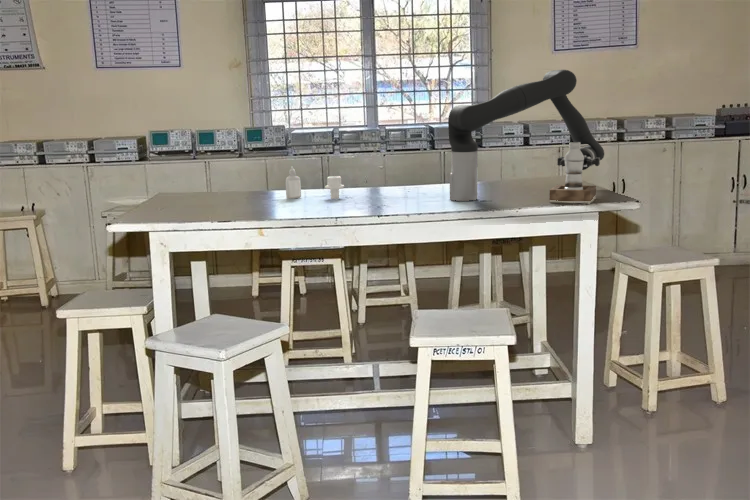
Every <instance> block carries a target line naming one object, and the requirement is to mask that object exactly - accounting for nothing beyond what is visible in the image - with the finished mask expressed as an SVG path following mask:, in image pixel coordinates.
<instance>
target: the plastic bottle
mask: <svg viewBox="0 0 750 500" xmlns="http://www.w3.org/2000/svg"><path fill="white" fill-rule="evenodd" d="M580 148H582V147H581V144H580V142H574V141H573V142H572V141H570V142H569V144H568V151H567V152H566V154H565V155H564V157H565V158H564V160H565V166H564V168H565V184H564V185H565V188H564V189H569V190H583V187H582V185H583V170H582V169H583V163H584V156H583V154H582V152H581V151H580Z"/></svg>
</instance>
